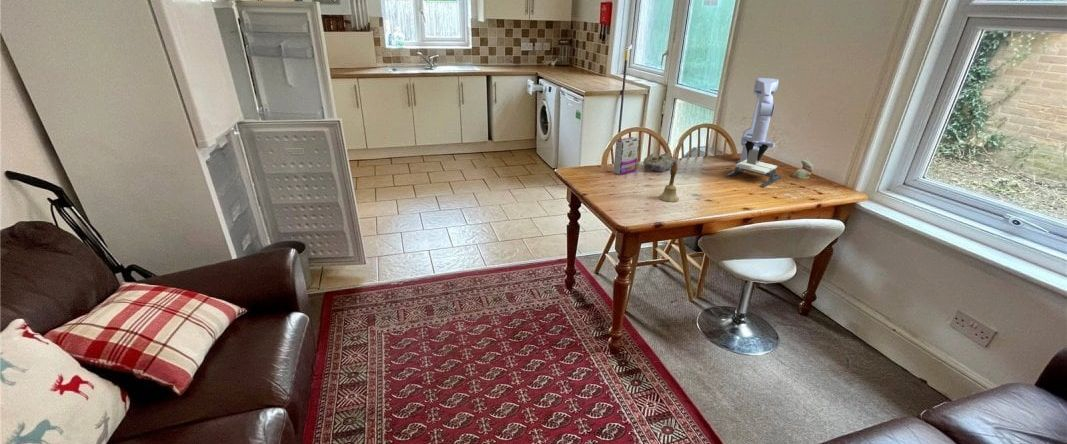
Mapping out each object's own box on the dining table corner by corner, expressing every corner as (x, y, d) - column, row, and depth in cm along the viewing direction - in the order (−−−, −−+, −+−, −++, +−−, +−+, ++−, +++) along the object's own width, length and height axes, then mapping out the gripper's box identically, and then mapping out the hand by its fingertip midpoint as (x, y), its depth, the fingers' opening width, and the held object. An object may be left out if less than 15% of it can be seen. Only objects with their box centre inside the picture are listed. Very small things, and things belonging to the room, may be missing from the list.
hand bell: (663, 193, 199) (669, 158, 192) (682, 198, 194) (688, 162, 187) (655, 198, 193) (660, 162, 186) (674, 204, 188) (680, 167, 181)
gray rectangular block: (750, 161, 216) (753, 148, 213) (758, 163, 213) (761, 150, 210) (746, 162, 213) (749, 150, 211) (755, 164, 210) (758, 152, 208)
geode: (638, 179, 229) (667, 181, 220) (634, 164, 224) (664, 165, 215) (651, 160, 239) (679, 161, 230) (648, 144, 233) (676, 145, 224)
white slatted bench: (743, 169, 232) (746, 156, 229) (780, 178, 220) (784, 165, 218) (725, 177, 220) (728, 164, 217) (763, 187, 208) (767, 174, 205)
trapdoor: (747, 160, 227) (748, 158, 226) (776, 167, 217) (777, 165, 217) (734, 166, 218) (735, 164, 217) (764, 174, 209) (765, 171, 208)
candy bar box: (628, 168, 228) (632, 136, 221) (635, 171, 224) (640, 138, 217) (612, 172, 222) (615, 139, 215) (619, 175, 218) (623, 142, 211)
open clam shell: (809, 180, 219) (815, 160, 214) (791, 177, 223) (797, 157, 218) (810, 177, 223) (816, 157, 219) (793, 174, 227) (798, 154, 222)
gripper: (740, 128, 209) (734, 157, 215) (773, 134, 199) (765, 164, 205) (747, 126, 213) (741, 154, 219) (779, 132, 204) (772, 161, 210)
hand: (753, 159), depth 212 cm, fingers closed on gray rectangular block, 4 cm apart
